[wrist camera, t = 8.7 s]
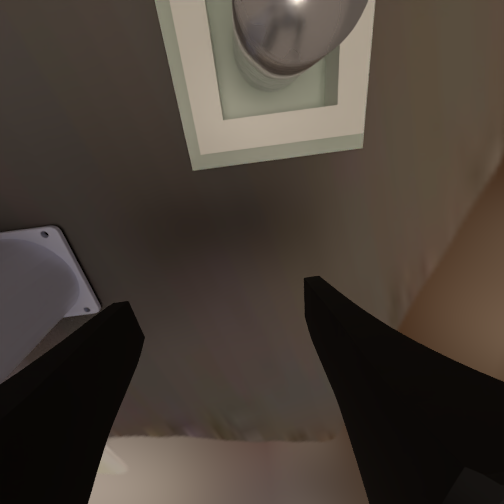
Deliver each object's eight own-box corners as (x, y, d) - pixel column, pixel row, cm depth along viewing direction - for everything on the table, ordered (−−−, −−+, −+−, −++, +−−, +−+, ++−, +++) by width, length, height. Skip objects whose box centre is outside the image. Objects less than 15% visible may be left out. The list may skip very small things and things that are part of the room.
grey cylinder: (240, 97, 14) (245, 73, 7) (225, 3, 12) (215, -136, 6) (309, 84, 14) (372, 48, 7) (305, -13, 12) (384, -172, 5)
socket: (195, 168, 16) (187, 176, 14) (141, -76, 11) (112, -141, 8) (355, 147, 16) (379, 150, 13) (374, -108, 11) (418, -183, 8)
